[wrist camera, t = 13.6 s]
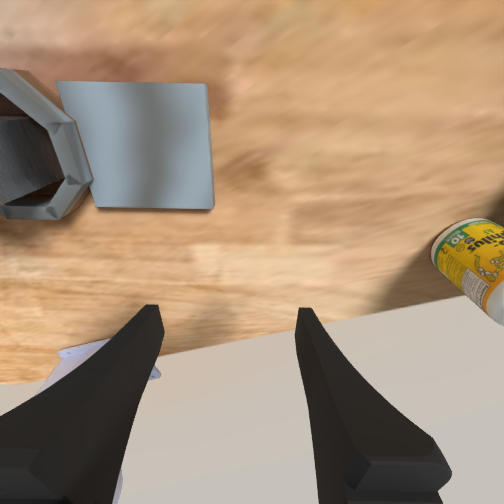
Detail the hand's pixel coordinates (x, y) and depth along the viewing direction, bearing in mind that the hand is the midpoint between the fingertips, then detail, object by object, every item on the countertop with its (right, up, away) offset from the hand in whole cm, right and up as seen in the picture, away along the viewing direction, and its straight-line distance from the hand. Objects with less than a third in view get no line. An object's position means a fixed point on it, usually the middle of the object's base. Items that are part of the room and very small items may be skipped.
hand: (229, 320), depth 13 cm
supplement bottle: (+19, +4, +9) cm, 22 cm away
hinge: (-15, +11, +5) cm, 19 cm away
